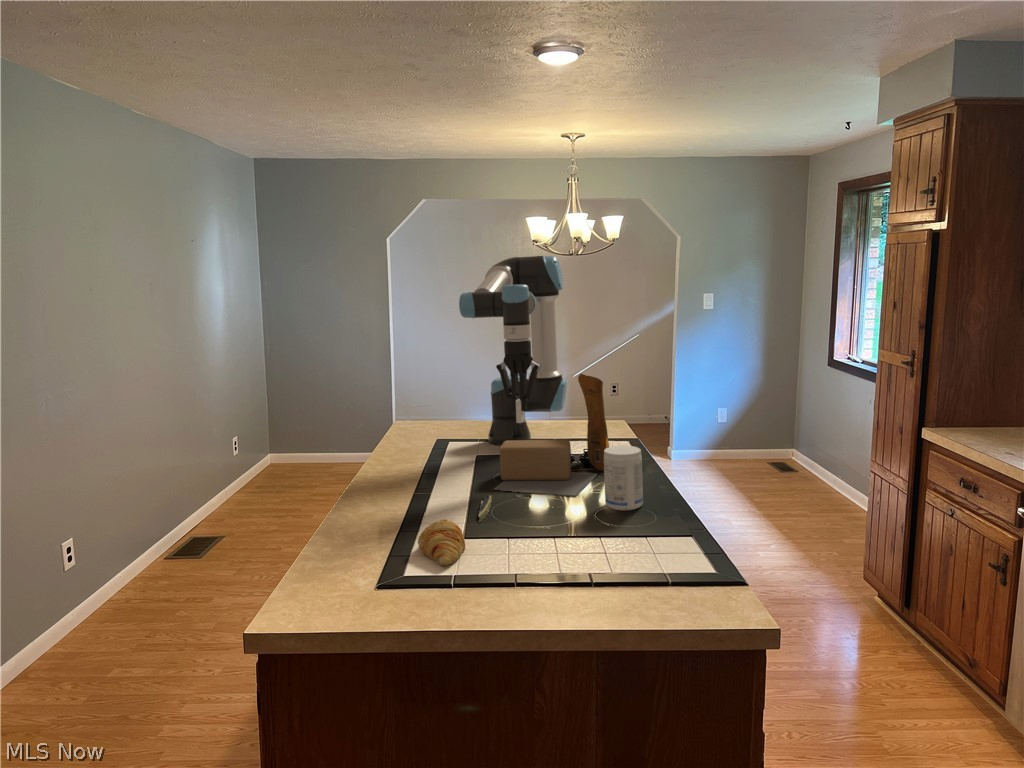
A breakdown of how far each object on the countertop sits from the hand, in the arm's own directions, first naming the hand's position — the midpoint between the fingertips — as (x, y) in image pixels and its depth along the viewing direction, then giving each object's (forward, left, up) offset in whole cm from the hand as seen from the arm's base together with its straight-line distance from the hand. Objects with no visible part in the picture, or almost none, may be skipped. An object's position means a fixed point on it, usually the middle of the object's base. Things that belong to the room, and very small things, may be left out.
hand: (520, 421), depth 215 cm
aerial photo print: (+25, +6, -18) cm, 31 cm away
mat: (0, +7, -17) cm, 19 cm away
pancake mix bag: (-22, +16, -18) cm, 33 cm away
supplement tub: (+15, +33, -18) cm, 40 cm away
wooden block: (-2, -7, -12) cm, 14 cm away
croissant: (+56, +2, -18) cm, 59 cm away
